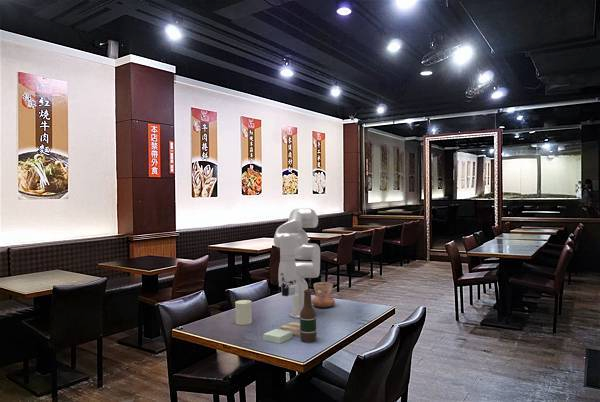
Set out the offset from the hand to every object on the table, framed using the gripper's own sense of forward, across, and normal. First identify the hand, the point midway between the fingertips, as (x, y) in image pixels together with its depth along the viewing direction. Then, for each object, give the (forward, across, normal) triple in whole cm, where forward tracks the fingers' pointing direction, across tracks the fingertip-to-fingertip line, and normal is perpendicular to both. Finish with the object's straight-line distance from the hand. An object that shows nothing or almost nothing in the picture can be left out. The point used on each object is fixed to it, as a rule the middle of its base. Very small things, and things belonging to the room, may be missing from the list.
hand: (288, 294), depth 217 cm
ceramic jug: (+19, -59, -14) cm, 63 cm away
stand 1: (+20, +9, 0) cm, 22 cm away
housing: (+1, 0, 0) cm, 1 cm away
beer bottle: (+20, +2, +13) cm, 24 cm away
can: (+20, -5, -34) cm, 40 cm away
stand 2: (+20, -5, 0) cm, 21 cm away
